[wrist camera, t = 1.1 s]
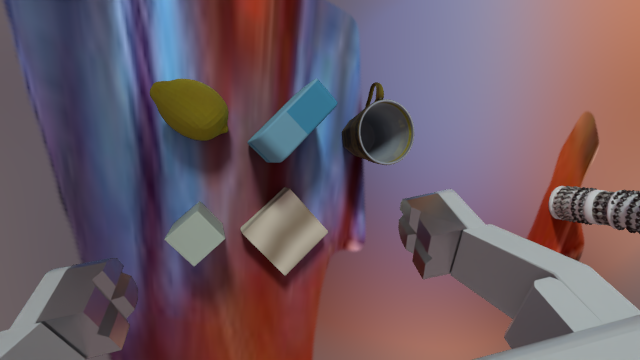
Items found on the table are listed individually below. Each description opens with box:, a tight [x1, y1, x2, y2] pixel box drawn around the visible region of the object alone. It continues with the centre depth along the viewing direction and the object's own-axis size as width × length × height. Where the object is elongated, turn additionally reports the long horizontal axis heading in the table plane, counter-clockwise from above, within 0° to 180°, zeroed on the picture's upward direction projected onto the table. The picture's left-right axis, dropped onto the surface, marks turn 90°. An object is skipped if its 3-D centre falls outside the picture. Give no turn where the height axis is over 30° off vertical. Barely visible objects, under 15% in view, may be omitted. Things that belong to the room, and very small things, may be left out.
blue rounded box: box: [248, 79, 337, 163], centre depth 45 cm, size 12×4×12 cm, turn 136°
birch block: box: [240, 187, 328, 276], centre depth 50 cm, size 10×10×4 cm
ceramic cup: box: [342, 83, 414, 165], centre depth 51 cm, size 13×10×10 cm
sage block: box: [165, 201, 225, 266], centre depth 43 cm, size 5×5×10 cm
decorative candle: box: [549, 186, 640, 234], centre depth 64 cm, size 9×9×25 cm
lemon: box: [150, 79, 228, 141], centre depth 42 cm, size 11×8×8 cm
